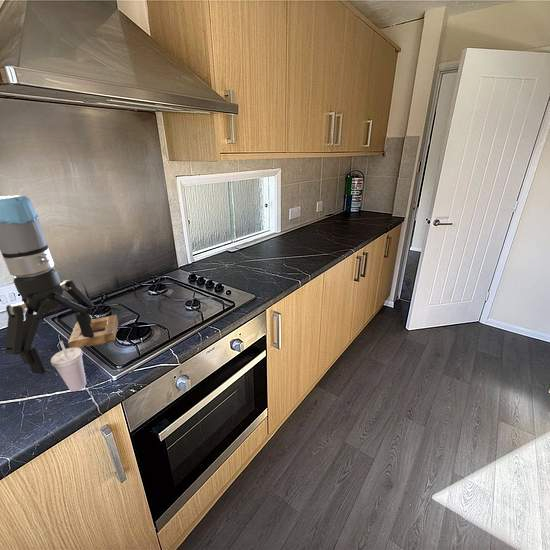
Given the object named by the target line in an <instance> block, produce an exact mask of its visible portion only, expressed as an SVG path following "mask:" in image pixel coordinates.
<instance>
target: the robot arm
mask: <svg viewBox="0 0 550 550" xmlns="http://www.w3.org/2000/svg"><path fill="white" fill-rule="evenodd" d="M0 254H1V256H2V258H3V261H4V263H5V265H6V268H7V270H8V273H9V275H10V276H13V277H12V281H13V284H14V287H15V288H16V291H17V293H18V294H19V296H21V302H18V303H15V304H7V305H6V307H5V308H6V312H7V313H6V314H7V316H8V318H7V327H6V335H5V336H6V337H5V344H4V345H5V346H4V353H5V354H9V355H15V356H17V355H19V356H20V358H21V360H22V363H24V364H26V365H29V368H30V370H31V372H32V373H33V374H38V375H44V374H45V373H46V372H47V371H46V369H45V366H44V365H43V362H42V360H41V357H40V355H39V353H38V350H37V348H36V347H35V346H34V347H33V346H32V345H33V342H34V339H35V336H36V333H37V330H38V328H39V324H40V322H41V320H42V319H44V316H45V314H48V313H50V312H51V311H52V310H54V309H57V308H59V307H60V306H63V307H65V308H67V309H69V310H72V311H74V312H76V313H77V314H75V317H76V320H77V322H78V323H79V326H80V329H81V332H82V334H83V337H89V338H93V337H94V334H93V333H94V331H92V328H91V325H90V324H91V320H92V318H91V315H90V314H92V313H93V308H94V307H95V303H93V302H92V301H91V300H90V299H89V298H88V297H87V296H86V295H85V294H84V293H83V292H82V291H81V290H80V289H79V288H78V287H77V285H76V283H75V281H74V280H72V279H62V280H61V278H60V275H59V273H58V270H57V268H56V267H54V266H55V261H54V260H53V256H52V253H51V251H50V248H49V246H48V242H47V239H46V237H45V234H44V231H43V228H42V225H41V222H40V219H39V214H38V213H37V211H36V210H35V207H34V204H33V203H32V200H31V199H30V198H29V197H28V196H26V195H21V194H13V195H2V196H0ZM64 291H65V292H66V294H68V295H69V296H70V297H72V299H74V300H75V301H76V302H77V303H76V302H75V301H72V300H70V298H68V297H65V296H63V294H64ZM34 313H35V314H34Z"/></svg>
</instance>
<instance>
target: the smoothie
mask: <svg viewBox="0 0 550 550" xmlns="http://www.w3.org/2000/svg"><path fill="white" fill-rule="evenodd" d="M59 345H60V347H61V350H60V351H58V352H56V353H55V354H53V356H52V357H51V358H50V364H51V366H52V367H54V368H55V370H56V371H57V372H58V374H59V376H60V378H61V379H62V380H63V382H64V383H65V385H66V386H67V388H68V389H69V391H70V392H78V391H81V390H82V389H85V387H86V385H87V378H86V372H85V367H84V360H83V355H84V352H83V351H82V348H77V347H73V348H70V347H68V348H66V347H65V345H64V341H63V340H59Z"/></svg>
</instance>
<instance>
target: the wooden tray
mask: <svg viewBox="0 0 550 550" xmlns="http://www.w3.org/2000/svg"><path fill="white" fill-rule="evenodd" d="M90 325H91V328H92V331H93V334H94V337H93V338H89V337H83V334H82V332H81V329H80V326H79V323H78V321H77V322H76V323H75V325H74V327H73V329H72V332H71V334H70V336H69V339H68V341H67V344H68V348H73V347H77V348H80V347H83V346H87V347H86V348H88V347H93V346H98V345H103V344H106V343H111V342H114V341H116V336H117V332H118V328H119V327H118V326H119V320H118V315H117V314H113V315H108V316H107V315H106V316H102V317H97V318H93V319H92V318H91V324H90ZM103 329H104V330H103ZM98 330H101V331H98ZM94 331H96V332H94ZM116 331H117V332H116ZM80 349H81V348H80Z"/></svg>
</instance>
